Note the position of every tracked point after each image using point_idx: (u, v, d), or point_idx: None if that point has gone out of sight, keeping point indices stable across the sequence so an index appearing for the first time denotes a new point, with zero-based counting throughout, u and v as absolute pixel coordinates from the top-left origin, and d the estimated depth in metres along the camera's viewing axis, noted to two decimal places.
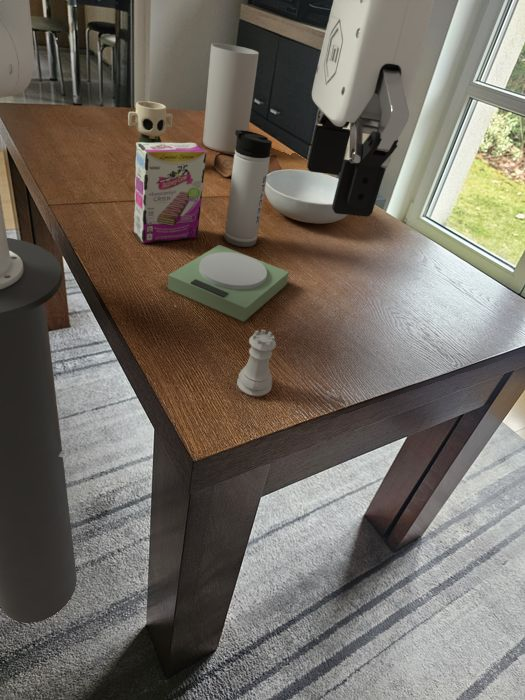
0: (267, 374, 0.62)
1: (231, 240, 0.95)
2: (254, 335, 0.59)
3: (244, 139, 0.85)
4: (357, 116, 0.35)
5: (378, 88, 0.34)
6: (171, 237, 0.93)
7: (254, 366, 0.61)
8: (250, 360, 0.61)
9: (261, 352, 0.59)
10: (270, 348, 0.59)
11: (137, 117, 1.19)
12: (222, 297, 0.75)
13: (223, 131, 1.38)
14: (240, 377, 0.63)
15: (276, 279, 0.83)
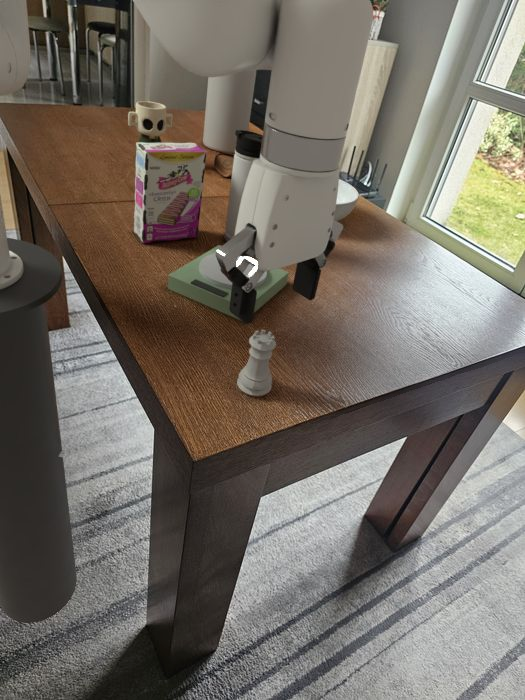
0: (267, 374, 0.62)
1: None
2: (254, 335, 0.59)
3: (244, 139, 0.85)
4: None
5: None
6: (171, 237, 0.93)
7: (254, 366, 0.61)
8: (250, 360, 0.61)
9: (261, 352, 0.59)
10: (270, 348, 0.59)
11: (137, 117, 1.19)
12: (222, 297, 0.75)
13: (223, 131, 1.38)
14: (240, 377, 0.63)
15: (276, 279, 0.83)
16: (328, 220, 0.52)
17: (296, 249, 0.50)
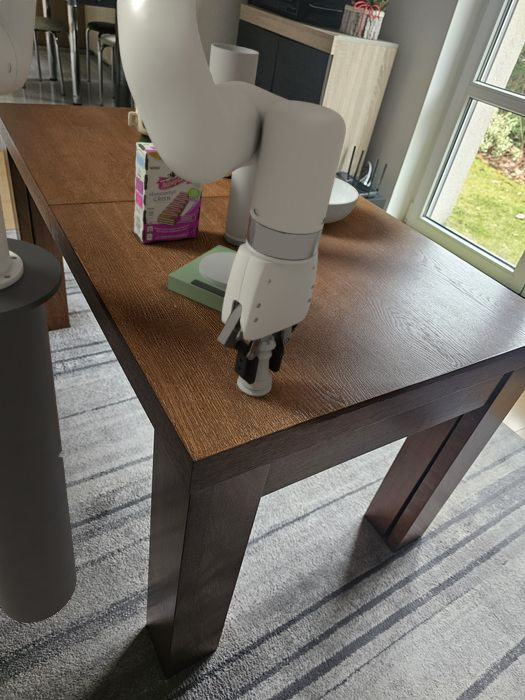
0: (267, 374, 0.62)
1: (231, 240, 0.95)
2: None
3: None
4: None
5: None
6: (171, 237, 0.93)
7: None
8: None
9: (261, 352, 0.59)
10: (270, 348, 0.59)
11: (137, 117, 1.19)
12: (222, 297, 0.75)
13: None
14: (240, 377, 0.63)
15: None
16: (308, 293, 0.57)
17: (278, 320, 0.56)
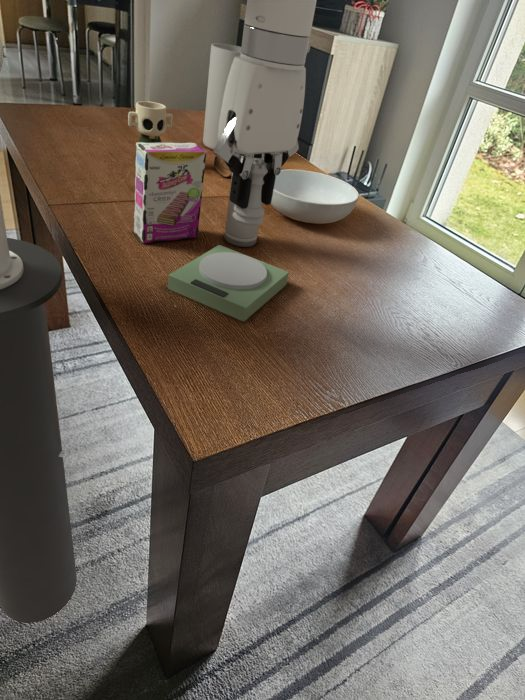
0: (259, 204, 0.68)
1: (231, 240, 0.95)
2: None
3: None
4: None
5: None
6: (171, 237, 0.93)
7: None
8: None
9: (254, 176, 0.65)
10: (262, 172, 0.65)
11: (137, 117, 1.19)
12: (222, 297, 0.75)
13: None
14: (235, 207, 0.68)
15: (276, 279, 0.83)
16: (297, 116, 0.63)
17: (269, 137, 0.62)
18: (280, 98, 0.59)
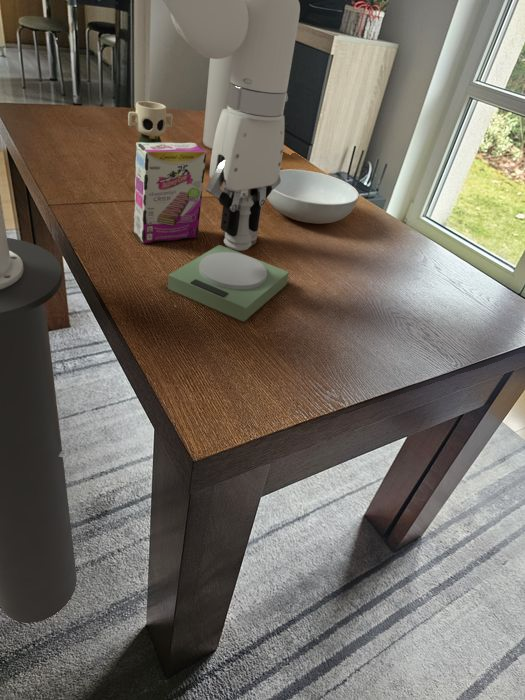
0: (247, 231, 0.77)
1: None
2: None
3: None
4: None
5: None
6: (171, 237, 0.93)
7: None
8: None
9: (241, 208, 0.75)
10: (249, 204, 0.74)
11: (137, 117, 1.19)
12: (222, 297, 0.75)
13: None
14: (226, 234, 0.78)
15: (276, 279, 0.83)
16: (278, 156, 0.72)
17: (254, 175, 0.71)
18: (263, 143, 0.68)
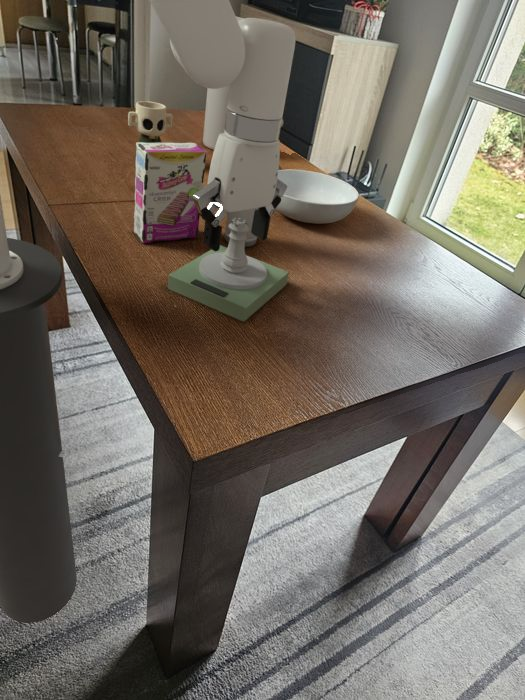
0: (243, 255, 0.80)
1: None
2: (232, 220, 0.77)
3: None
4: None
5: None
6: (171, 237, 0.93)
7: (233, 246, 0.78)
8: (230, 242, 0.79)
9: (237, 234, 0.77)
10: (244, 230, 0.77)
11: (137, 117, 1.19)
12: (222, 297, 0.75)
13: (223, 131, 1.38)
14: (222, 258, 0.80)
15: (276, 279, 0.83)
16: (273, 179, 0.74)
17: (249, 197, 0.73)
18: (258, 167, 0.70)
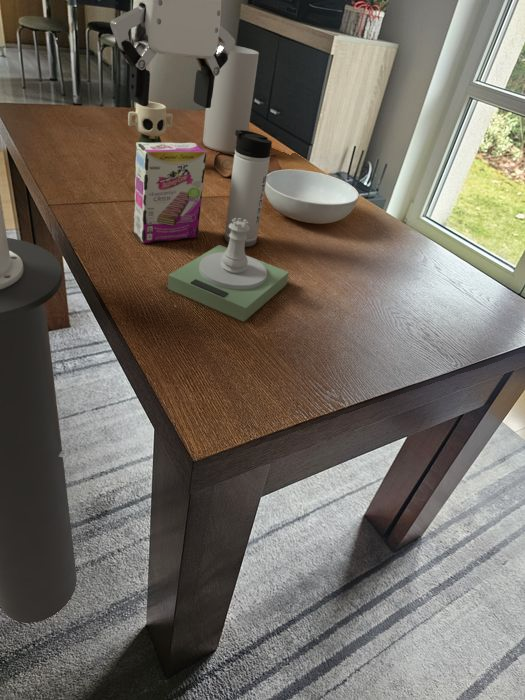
0: (243, 255, 0.80)
1: None
2: (232, 220, 0.77)
3: (244, 139, 0.85)
4: (134, 35, 0.60)
5: None
6: (171, 237, 0.93)
7: (233, 246, 0.78)
8: (230, 242, 0.79)
9: (237, 234, 0.77)
10: (244, 230, 0.77)
11: (137, 117, 1.19)
12: (222, 297, 0.75)
13: (223, 131, 1.38)
14: (222, 258, 0.80)
15: (276, 279, 0.83)
16: (214, 18, 0.61)
17: (184, 36, 0.60)
18: None
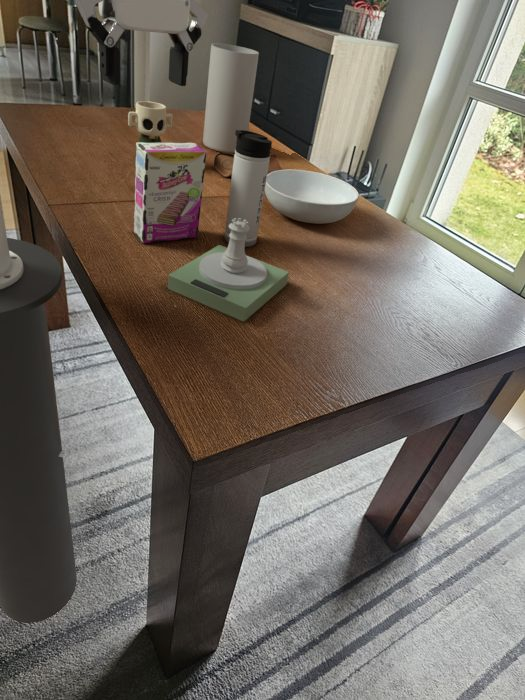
0: (243, 255, 0.80)
1: None
2: (232, 220, 0.77)
3: (244, 139, 0.85)
4: (101, 11, 0.58)
5: None
6: (171, 237, 0.93)
7: (233, 246, 0.78)
8: (230, 242, 0.79)
9: (237, 234, 0.77)
10: (244, 230, 0.77)
11: (137, 117, 1.19)
12: (222, 297, 0.75)
13: (223, 131, 1.38)
14: (222, 258, 0.80)
15: (276, 279, 0.83)
16: None
17: (152, 11, 0.58)
18: None
